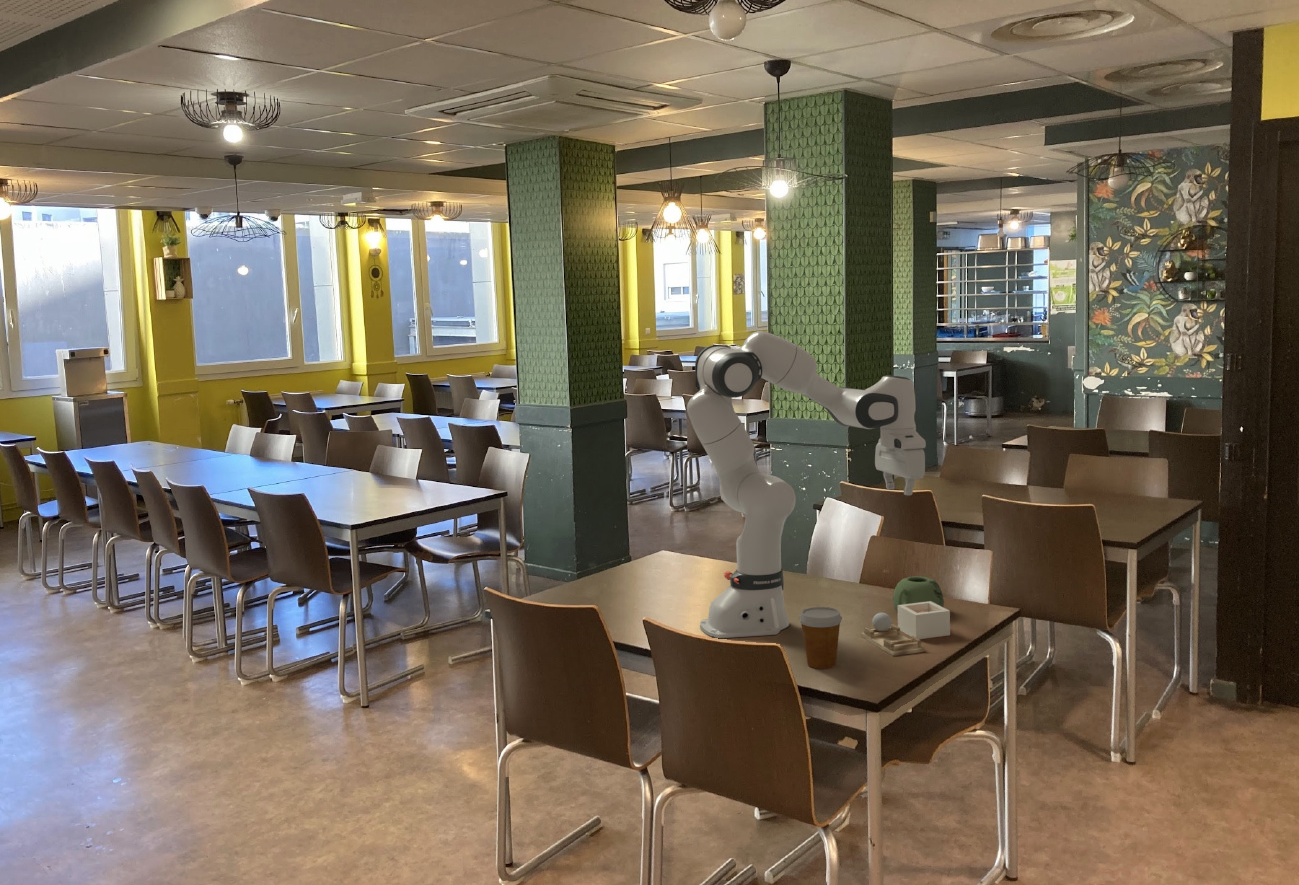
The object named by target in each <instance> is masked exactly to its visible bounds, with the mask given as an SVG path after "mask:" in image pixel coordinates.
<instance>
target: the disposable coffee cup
mask: <svg viewBox="0 0 1299 885" xmlns="http://www.w3.org/2000/svg"><path fill="white" fill-rule="evenodd" d="M798 620H799V622H800V626H801V632H802V636H803V642H804V650H805V656H806V657H805V658H806V663H807V666H808V667H810V668H812V669H813V668H814V669H818V670H825V669H831V668H834V667H835V666H836V665H837V656H838V655H837V654H838V648H839V647H838V645H839V636H840V635H839V634H840V627H841V622H842V620H843V617H842V615H841V613H840V610H838V609H837V608H833V607H826V606H812V607H807V608H804V609H802V610H801V611H800V615H799V616H798Z"/></svg>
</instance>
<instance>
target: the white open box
mask: <svg viewBox="0 0 1299 885" xmlns="http://www.w3.org/2000/svg"><path fill="white" fill-rule="evenodd" d="M922 611H925V612H923V613H919V612H922ZM950 616H951V611H950V610H949V609H947V608H946V607H944V606H943V607H941V606H939V605H937V604H935V603H933V602H931V601H928V602H920V603H912V604H904V605H898V611H897V627H899V628H900V632H903V633H904V634H906V635H907V636H909V637H910V636H915V637H916V638H918V639H920V640H924V639H932V638H937V637H946V636H950V635H951V617H950Z"/></svg>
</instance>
